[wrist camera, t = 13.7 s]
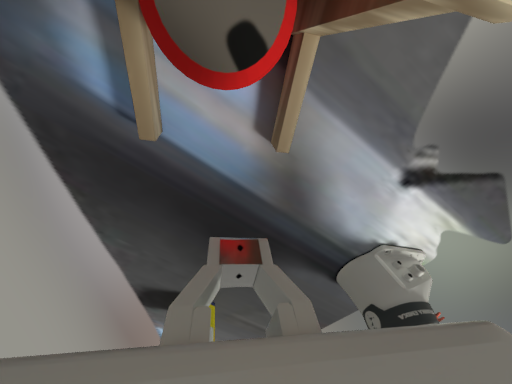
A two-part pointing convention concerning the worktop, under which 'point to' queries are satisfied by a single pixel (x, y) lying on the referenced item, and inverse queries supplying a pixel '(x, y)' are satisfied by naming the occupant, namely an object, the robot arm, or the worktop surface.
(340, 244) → the worktop surface
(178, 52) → the soda can
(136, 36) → the shelf
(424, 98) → the worktop surface
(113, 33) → the worktop surface
